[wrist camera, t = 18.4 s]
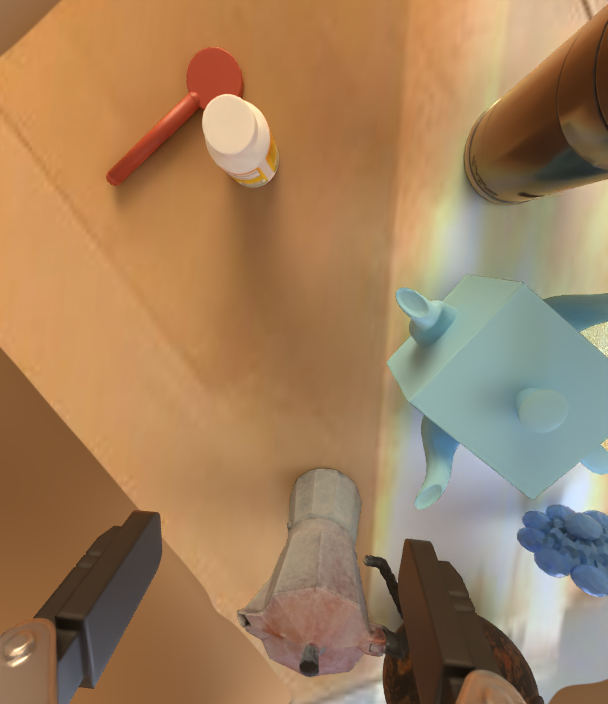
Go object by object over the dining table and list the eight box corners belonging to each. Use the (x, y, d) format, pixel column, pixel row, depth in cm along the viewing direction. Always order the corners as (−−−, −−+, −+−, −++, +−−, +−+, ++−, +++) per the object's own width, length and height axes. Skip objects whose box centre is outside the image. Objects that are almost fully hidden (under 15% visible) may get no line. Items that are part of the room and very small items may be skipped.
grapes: (599, 468, 42) (702, 549, 31) (603, 515, 44) (703, 609, 32) (497, 488, 44) (559, 572, 32) (505, 533, 45) (567, 628, 34)
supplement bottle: (255, 199, 37) (231, 181, 27) (215, 160, 36) (177, 127, 27) (291, 157, 35) (278, 123, 26) (251, 115, 34) (224, 64, 25)
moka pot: (266, 461, 45) (220, 618, 25) (391, 464, 44) (443, 631, 24) (268, 524, 47) (228, 712, 28) (387, 529, 46) (430, 727, 27)
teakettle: (549, 423, 41) (667, 512, 27) (384, 437, 43) (413, 528, 28) (558, 254, 36) (708, 254, 22) (372, 277, 38) (400, 290, 24)
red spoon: (130, 205, 37) (123, 203, 36) (95, 161, 36) (86, 158, 35) (254, 89, 34) (251, 83, 33) (219, 38, 33) (215, 29, 32)
